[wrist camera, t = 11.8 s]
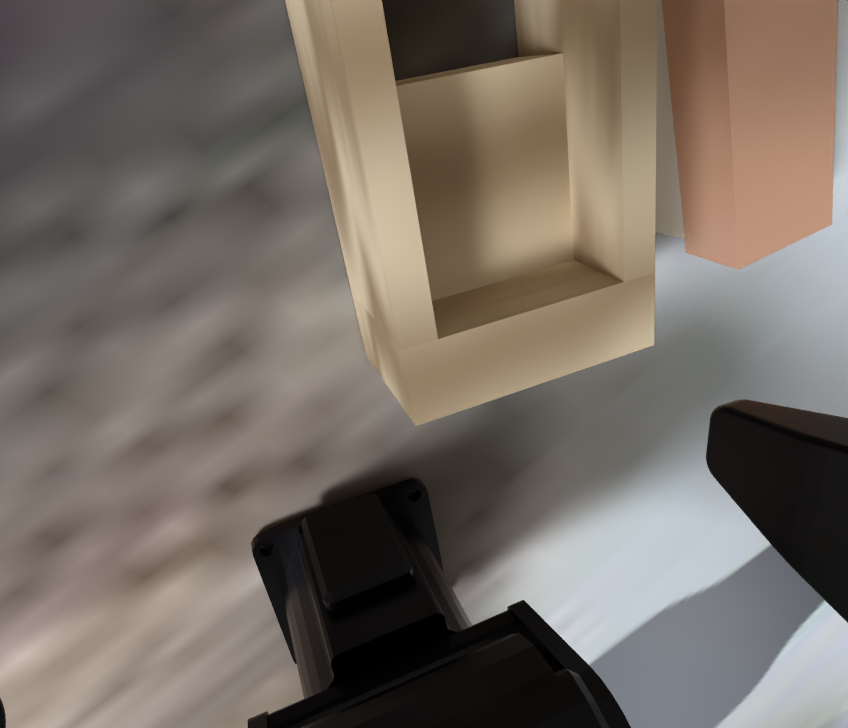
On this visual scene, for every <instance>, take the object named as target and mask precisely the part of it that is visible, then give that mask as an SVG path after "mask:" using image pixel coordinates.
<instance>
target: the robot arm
mask: <svg viewBox="0 0 848 728" xmlns="http://www.w3.org/2000/svg"><path fill="white" fill-rule="evenodd" d="M706 461H707V465H708V468H709V470H710V472H711V474H712V475H713V476H714V478H715V479H716V480H717V481H718V482H719V484H720V485H721V486H722V487H723V488H724V489H725V491H726V492H727V493H728V494H729V495H730V496H731V498H732V499H733V500H734V501H735V502H736V504H737V505H738V506H739V507H740V508H741V509H742V511H743V512H744V513H745V514H746V515H747V516H748V518H749V519H750V520H751V521H752V522H753V524H754V525H755V526H756V527H757V528H758V529H759V531H760V532H761V533H762V534H763V535H764V536H765V538H766V539H767V540H768V541H769V542H770V543H771V545H772V546H773V547H774V548H775V549H776V550H777V552H779V554H780V555H781V556H782V557H783V558H784V559H785V561H786V562H787V563H788V564H789V565H790V566H791V567H792V568H793V569H794V570H795V571H796V572H797V573H798V574H799V575H800V576H801V577H802V578H803V579H804V580H805V581H806V582H807V583H808V584H809V585H810V586H811V587H812V588H813V589H814V590H815V591H816V592H817V593H818V594H819V595H820V596H821V597H822V598H823V599H824V600H825V601H826V602H827V603H828V604H829V605H830V606H831V607H832V608H833V609H834V610H835V611H836V612H837V613H838V614H839V615H840V616H842V617H843V618H844V619H845V620H846V621H847V622H848V418H844V417H838V416H833V415H827V414H822V413H817V412H811V411H806V410H800V409H795V408H789V407H784V406H778V405H773V404H767V403H762V402H756V401H751V400H736V401H733V402H730V403H727V404H724V405H721V406H718V407H717V408H715V409H714V411H713V412H712V414H711V417H710V425H709V434H708V443H707V452H706ZM413 490H417V492H416V493H415V494H413V495H410V496H409V494H410V492H412V491H413ZM265 544H271V545H272V546H271V547H269V548H267V549H263V548H261V547H262V546H264V545H265ZM251 545H252V552H253V557H254V559H255V562H256V564H257V567H258V570H259V572H260V575H261V577H262V580H263V583H264V585H265V588H266V590H267V593H268V596H269V598H270V601H271V603H272V606H273V609H274V611H275V614H276V616H277V619H278V622H279V624H280V627H281V629H282V632H283V635H284V637H285V640H286V642H287V645H288V648H289V650H290V653H291V655H292V658H293V661H294V662H295V663H296V664H297V666H298V671H299V676H300V681H301V685H302V690H303V695H304V699H303V700H301V701H298V702H296V703H294V704H291V705H289V706H287V707H285V708H282V709H280V710H278V711H275V712H273V713H271V714H268V712H267V711H266V712H264V713H262V714H260V715H257V716H255V717H253V718H250V719H248V728H631V727H630V725H629V723H628V721H627V720H626V717H625V715H624V714H623V712H622V710H621V709H620V707H619V705H618V704H617V702H616V700H615V699H614V697H613V695H612V694H611V692H610V691H609V690H608V688H607V687H606V685H605V684H604V683H603V681H602V680H601V678H600V677H599V676H598V675H597V674H596V673H595V672H594V670H593V669H592V668H591V667H590V666H589V665H588V664H587V663H586V662H585V661H584V660H583V659H582V658H581V657H580V656H579V655H578V654H577V653H576V652H575V651H574V650H573V649H572V648H571V647H570V646H569V645H568V644H567V643H566V642H565V641H564V640H563V639H562V638H561V637H560V636H559V635H558V634H557V633H556V632H555V631H554V630H553V629H552V628H551V627H550V626H549V625H548V624H547V623H546V622H545V621H544V620H543V619H542V618H541V617H540V616H539V615H538V614H537V613H536V612H535V611H534V610H533V609H532V608H531V607H530V606H529V605H528V604H527V603H526V602H525V601H524V600H522V601H520V602H517V603H515V604H513V605H510V606H508V610H507V611H505V612H503V613H500V614H498V615H496V616H493V617H491V618H489V619H486V620H484V621H482V622H480V623H477V624H475V625H473V626H472V624H471V622H470V620H469V618H468V617H467V615H466V613H465V611H464V609H463V608H462V606H461V604H460V602H459V600H458V598H457V597H456V595H455V593H454V591H453V589H452V588H451V586H450V584H449V582H448V580H447V579H446V577H445V575H444V572H443V567H442V562H441V557H440V552H439V547H438V542H437V537H436V532H435V527H434V522H433V517H432V512H431V507H430V502H429V497H428V492H427V489H426V487H425V486H424V484H423V483H422V481H420V480H419V479H416V478H412V479H408V480H405V481H402V482H400V483H397V484H394V485H391V486H388V487H386V488H383V489H380V490H377V491H375V492H372V493H368V494H366V495H363V496H360V497H357V498H354V499H352V500H349V501H346V502H343V503H341V504H338V505H335V506H332V507H330V508H327V509H324V510H321V511H318V512H316V513H313V514H310V515H307V516H305V517H303V518H300V519H297V520H294V521H291V522H289V523H286V524H283V525H280V526H278V527H275V528H272V529H269V530H266V531H264V532H261V533H259V534H258V535H256V536H255V537H254V538H253V540H252V543H251ZM0 728H6V718H5V710H4V706H3V703H2V701H1V699H0Z"/></svg>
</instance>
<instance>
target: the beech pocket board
mask: <svg viewBox="0 0 848 728" xmlns="http://www.w3.org/2000/svg"><path fill="white" fill-rule="evenodd" d="M285 2H286V6H287V11H288V15H289V20H290V24H291V28H292V33H293V37H294V42H295V46H296V50H297V55H298V59H299V64H300V68H301V72H302V77H303V81H304V85H305V90H306V94H307V99H308V103H309V107H310V112H311V116H312V121H313V125H314V129H315V134H316V138H317V142H318V147H319V151H320V156H321V160H322V164H323V169H324V173H325V178H326V182H327V186H328V191H329V195H330V199H331V204H332V208H333V213H334V217H335V221H336V226H337V230H338V235H339V239H340V243H341V248H342V252H343V256H344V261H345V265H346V270H347V274H348V278H349V283H350V287H351V292H352V296H353V300H354V305H355V309H356V314H357V318H358V322H359V327H360V331H361V335H362V340H363V344H364V349H365V353H366V356H367V358H368V359H369V360H370V362H371V363H372V365H373V366H374V368H375V369H376V370H377V372H378V373H379V375H380V376H381V377H382V379H383V380H384V382H385V383H386V385H387V386H388V387H389V389H390V390H391V392H392V393H393V394H394V396H395V397H396V399H397V400H398V401H399V403H400V404H401V406H402V407H403V409H404V410H405V411H406V413H407V414H408V416H409V417H410V418H411V420H412V421H413V423H414V424H415V426H418V425H421V424H424V423H427V422H430V421H433V420H435V419H438V418H441V417H444V416H447V415H450V414H453V413H456V412H459V411H462V410H465V409H468V408H471V407H474V406H477V405H480V404H483V403H485V402H488V401H491V400H494V399H497V398H500V397H503V396H506V395H509V394H512V393H515V392H518V391H521V390H524V389H527V388H530V387H533V386H535V385H538V384H541V383H544V382H547V381H550V380H553V379H556V378H559V377H562V376H565V375H568V374H571V373H574V372H577V371H580V370H583V369H585V368H588V367H591V366H594V365H597V364H600V363H603V362H606V361H609V360H612V359H615V358H618V357H621V356H624V355H627V354H630V353H633V352H636V351H638V350H641V349H644V348H647V347H650V346H653V345H654V317H655V209H656V100H657V0H514V10H515V22H516V34H517V46H518V57H515V58H510V59H505V60H500V61H495V62H490V63H484V64H479V65H474V66H469V67H464V68H459V69H454V70H449V71H444V72H439V73H434V74H428V75H423V76H418V77H413V78H408V79H403V80H398V81H395V77H394V71H393V65H392V59H391V53H390V47H389V41H388V35H387V29H386V23H385V17H384V11H383V5H382V0H285Z"/></svg>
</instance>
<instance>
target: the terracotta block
mask: <svg viewBox="0 0 848 728" xmlns="http://www.w3.org/2000/svg"><path fill="white" fill-rule="evenodd" d="M662 9H663V20H664V30H665V40H666V51H667V61H668V71H669V81H670V92H671V102H672V112H673V123H674V133H675V143H676V154H677V164H678V174H679V184H680V195H681V205H682V215H683V226H684V236H685V237H684V240H685V250H686V253H689V254H692V255H695V256H698V257H701V258H704V259H707V260H711V261H714V262H717V263H720V264H723V265H726V266H729V267H732V268H735V269H741V268H743V267H745V266H747V265H749V264H751V263H753V262H755V261H757V260H759V259H761V258H763V257H765V256H767V255H770V254H772V253H774V252H776V251H778V250H780V249H782V248H784V247H786V246H788V245H790V244H792V243H794V242H796V241H798V240H801V239H803V238H805V237H807V236H809V235H811V234H813V233H815V232H817V231H819V230H821V229H823V228H825V227H827V226H830V225H832V205H833V168H834V131H835V93H836V56H837V19H838V0H662Z"/></svg>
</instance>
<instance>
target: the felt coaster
mask: <svg viewBox="0 0 848 728" xmlns="http://www.w3.org/2000/svg"><path fill="white" fill-rule="evenodd" d="M655 232H656V233H659V234H663V235H666V236H674V237H685V236H684V226H683V215H682V205H681V195H680V184H679V174H678V164H677V154H676V143H675V133H674V123H673V112H672V102H671V92H670V81H669V71H668V61H667V51H666V40H665V30H664V20H663V9H662V0H657V100H656V209H655Z"/></svg>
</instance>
